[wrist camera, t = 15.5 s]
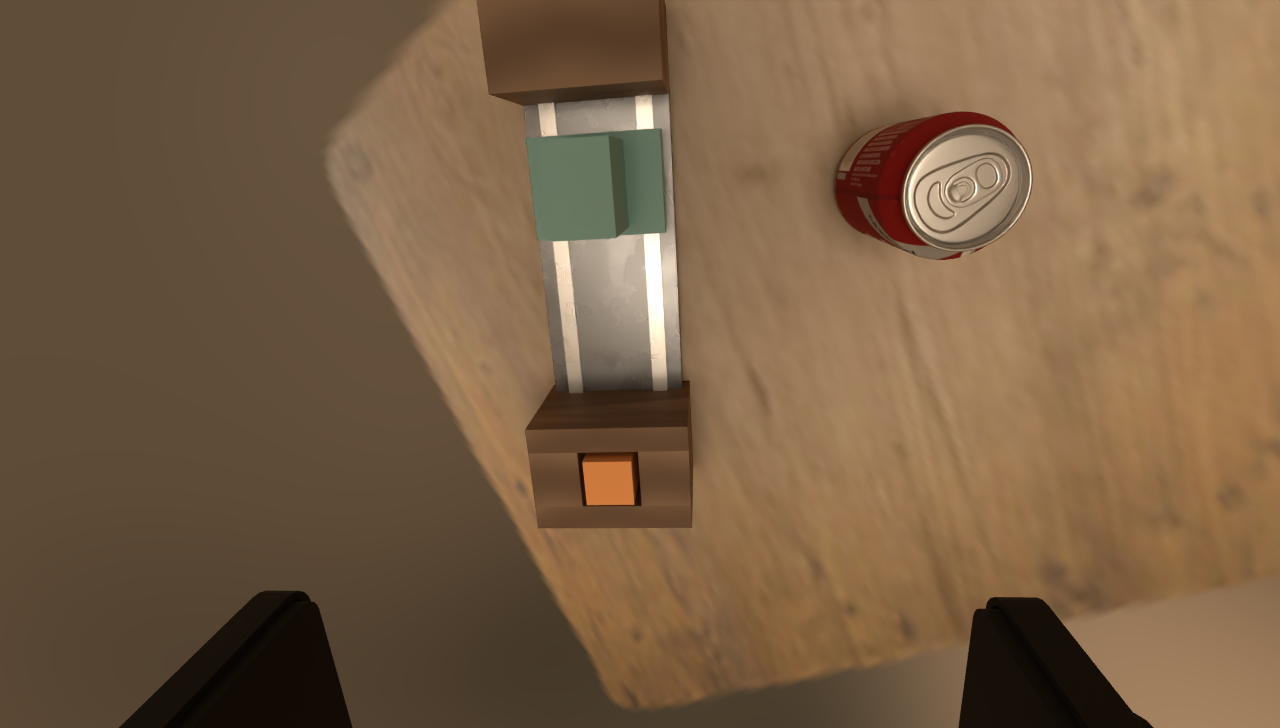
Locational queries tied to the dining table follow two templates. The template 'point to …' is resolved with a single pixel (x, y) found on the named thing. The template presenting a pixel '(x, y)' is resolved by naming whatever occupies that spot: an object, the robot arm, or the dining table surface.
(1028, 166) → the soda can
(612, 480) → the plunger
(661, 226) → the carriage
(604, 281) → the rail track
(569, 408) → the far cabinet
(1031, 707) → the robot arm
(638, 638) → the dining table surface
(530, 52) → the near cabinet
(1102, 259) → the dining table surface
